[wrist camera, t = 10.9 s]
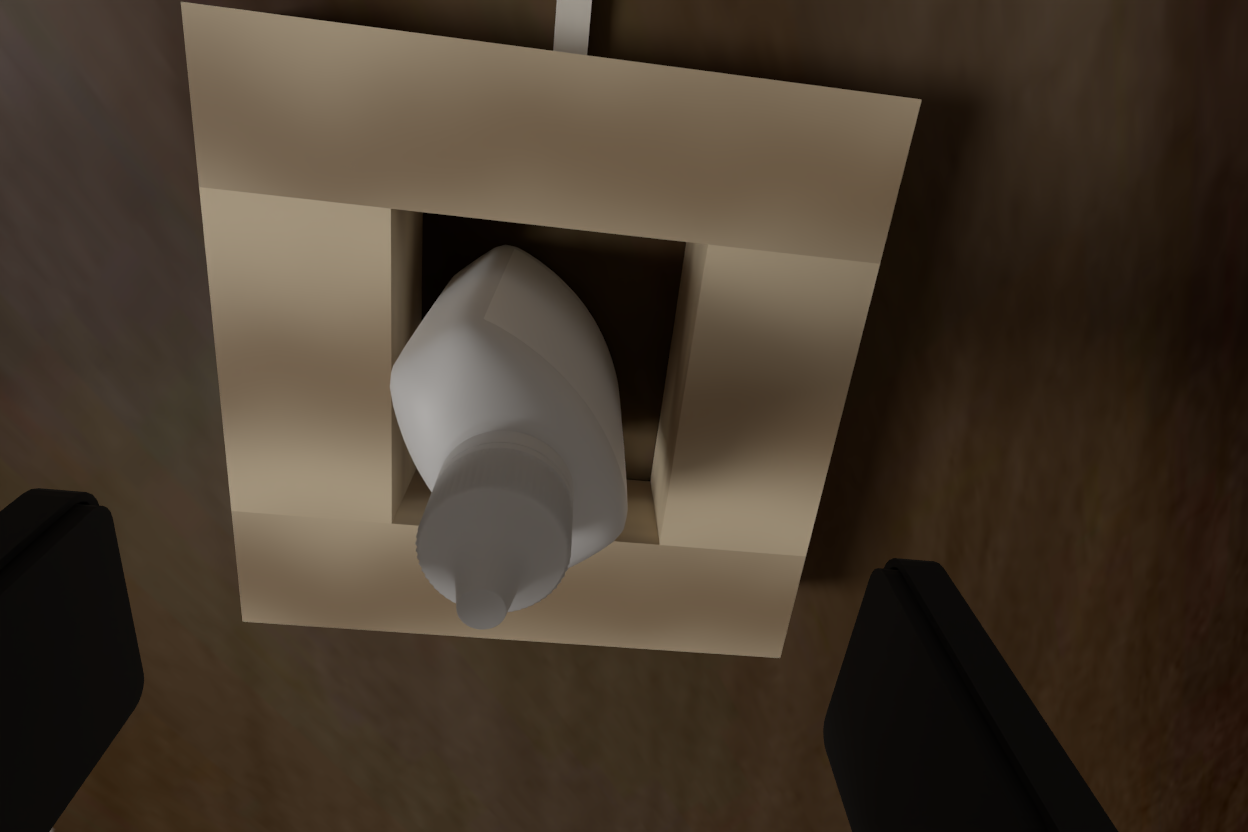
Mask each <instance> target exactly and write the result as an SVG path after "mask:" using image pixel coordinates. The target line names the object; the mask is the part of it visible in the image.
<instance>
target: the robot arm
mask: <svg viewBox="0 0 1248 832" xmlns="http://www.w3.org/2000/svg"><path fill="white" fill-rule="evenodd" d="M143 685H144V673H143V668H142V663H141V658H140V653H139V648H138V643H137V638H136V633H135V628H134V623H133V618H132V613H131V608H130V603H129V598H128V593H127V588H126V583H125V578H124V573H123V568H122V563H121V558H120V553H119V548H118V543H117V538H116V533H115V528H114V523H113V518H112V515H111V512H110V511H109V510H108V508H106V507H104V506H99V504H98V501H97V500H96V498H95V497H94V496H93V495H92V494H89V493H87V492H77V491H65V490H53V489H40V488H38V489H31V490H29V491H27V492H25V493H23V494H22V495H21V496H20V497H18V498H17V499H16V500H14V501H13V502H12V503H11V504H9V505H8V506H7V507H5V508H4V509H3V510H2V511H0V832H49V831H50V830H51V828H52V827H53V826H54V824H55V823H56V821H57V820H58V818H59V817H60V815H61V814H62V813H63V811H64V810H65V808H66V807H67V805H68V804H69V803H70V801H71V800H72V798H73V797H74V795H75V794H76V792H77V791H78V790H79V788H80V787H81V785H82V784H83V782H84V781H85V780H86V778H87V777H88V775H89V774H90V772H91V771H92V770H93V768H94V767H95V765H96V764H97V762H98V761H99V759H100V758H101V757H102V755H103V754H104V752H105V751H106V749H107V748H108V747H109V745H110V744H111V742H112V741H113V739H114V738H115V736H116V735H117V734H118V732H119V731H120V729H121V728H122V726H123V725H124V724H125V722H126V721H127V719H128V718H129V716H130V715H131V714H132V712H133V711H134V709H135V707H136V706H137V704H138V702H139V700H140V697H141V694H142V690H143ZM823 732H824V744H825V749H826V752H827V755H828V758H829V761H830V765H831V768H832V771H833V774H834V777H835V780H836V783H837V786H838V789H839V792H840V795H841V798H842V802H843V805H844V808H845V811H846V814H847V817H848V820H849V823H850V826H851V829H852V832H1118V831H1117V829H1116V828H1115V826H1114V825H1113V823H1112V822H1111V820H1110V819H1109V817H1108V816H1107V814H1106V812H1105V811H1104V809H1103V808H1102V806H1101V805H1100V803H1099V802H1098V800H1097V799H1096V797H1095V796H1094V794H1093V793H1092V791H1091V790H1090V788H1089V787H1088V785H1087V784H1086V782H1085V781H1084V779H1083V778H1082V776H1081V775H1080V773H1079V772H1078V770H1077V769H1076V767H1075V766H1074V764H1073V763H1072V761H1071V760H1070V758H1069V757H1068V755H1067V754H1066V752H1065V751H1064V749H1063V748H1062V746H1061V745H1060V743H1059V742H1058V740H1057V739H1056V737H1055V736H1054V734H1053V732H1052V731H1051V729H1050V728H1049V726H1048V725H1047V723H1046V722H1045V720H1044V719H1043V717H1042V716H1041V714H1040V713H1039V711H1038V710H1037V708H1036V707H1035V705H1034V704H1033V702H1032V701H1031V699H1030V698H1029V696H1028V695H1027V693H1026V692H1025V690H1024V689H1023V687H1022V686H1021V684H1020V683H1019V681H1018V680H1017V678H1016V677H1015V675H1014V674H1013V672H1012V671H1011V669H1010V668H1009V666H1008V665H1007V663H1006V662H1005V660H1004V659H1003V657H1002V655H1001V654H1000V652H999V651H998V649H997V648H996V646H995V645H994V643H993V642H992V640H991V639H990V637H989V636H988V634H987V633H986V631H985V630H984V628H983V627H982V625H981V624H980V622H979V621H978V619H977V618H976V616H975V615H974V613H973V612H972V610H971V609H970V607H969V606H968V604H967V603H966V601H965V600H964V598H963V597H962V595H961V594H960V592H959V591H958V589H957V588H956V586H955V585H954V583H953V582H952V580H951V578H950V577H949V575H948V574H947V572H946V571H945V569H944V568H943V567H942V566H941V565H940V564H939V563H937V562H934V561H922V560H909V559H897V558H893V559H891V560H889V561H888V562H887V563H886V565H885V567H884V569H880V568H878V569H875V570H874V571H873V572H872V574H871V576H870V579H869V582H868V585H867V588H866V591H865V594H864V598H863V601H862V604H861V607H860V610H859V613H858V616H857V619H856V623H855V626H854V629H853V632H852V635H851V638H850V641H849V645H848V648H847V651H846V654H845V657H844V660H843V663H842V667H841V670H840V673H839V676H838V679H837V682H836V685H835V688H834V692H833V695H832V698H831V701H830V704H829V707H828V710H827V714H826V717H825V721H824V729H823Z"/></svg>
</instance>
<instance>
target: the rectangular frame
mask: <svg viewBox="0 0 1248 832" xmlns="http://www.w3.org/2000/svg"><path fill="white" fill-rule="evenodd" d="M181 9H182V19H183V29H184V39H185V49H186V59H187V69H188V79H189V89H190V99H191V109H192V119H193V129H194V139H195V149H196V159H197V169H198V179H199V189H200V199H201V209H202V219H203V229H204V239H205V249H206V259H207V269H208V279H209V289H210V299H211V309H212V319H213V330H214V340H215V350H216V360H217V370H218V380H219V390H220V400H221V410H222V420H223V430H224V440H225V450H226V460H227V470H228V480H229V490H230V500H231V510H232V520H233V530H234V540H235V550H236V560H237V570H238V580H239V590H240V600H241V610H242V620H243V622H256V623H271V624H286V625H300V626H315V627H330V628H345V629H359V630H374V631H389V632H404V633H418V634H433V635H448V636H463V637H477V638H492V639H507V640H522V641H536V642H551V643H566V644H581V645H595V646H610V647H625V648H640V649H654V650H669V651H684V652H699V653H713V654H728V655H743V656H758V657H772V658H780V656H781V652H782V648H783V644H784V641H785V637H786V633H787V629H788V625H789V621H790V617H791V613H792V609H793V605H794V601H795V597H796V593H797V589H798V585H799V581H800V577H801V574H802V570H803V566H804V562H805V558H806V554H807V550H808V546H809V542H810V538H811V534H812V530H813V526H814V522H815V518H816V514H817V510H818V507H819V503H820V499H821V495H822V491H823V487H824V483H825V479H826V475H827V471H828V467H829V463H830V459H831V455H832V451H833V447H834V443H835V440H836V436H837V432H838V428H839V424H840V420H841V416H842V412H843V408H844V404H845V400H846V396H847V392H848V388H849V384H850V380H851V376H852V373H853V369H854V365H855V361H856V357H857V353H858V349H859V345H860V341H861V337H862V333H863V329H864V325H865V321H866V317H867V313H868V309H869V306H870V302H871V298H872V294H873V290H874V286H875V282H876V278H877V274H878V270H879V266H880V262H881V258H882V254H883V250H884V246H885V242H886V239H887V235H888V231H889V227H890V223H891V219H892V215H893V211H894V207H895V203H896V199H897V195H898V191H899V187H900V183H901V179H902V175H903V172H904V168H905V164H906V160H907V156H908V152H909V148H910V144H911V140H912V136H913V132H914V128H915V124H916V120H917V116H918V112H919V108H920V105H921V101H922V99H914V98H907V97H899V96H891V95H884V94H876V93H869V92H861V91H853V90H846V89H838V88H831V87H823V86H816V85H808V84H800V83H793V82H785V81H778V80H770V79H762V78H755V77H747V76H740V75H732V74H725V73H717V72H709V71H702V70H694V69H687V68H679V67H671V66H664V65H656V64H649V63H641V62H634V61H626V60H618V59H611V58H603V57H596V56H588V55H580V54H573V53H565V52H558V51H550V50H543V49H535V48H527V47H520V46H512V45H505V44H497V43H489V42H482V41H474V40H467V39H459V38H451V37H444V36H436V35H429V34H421V33H414V32H406V31H398V30H391V29H383V28H376V27H368V26H360V25H353V24H345V23H338V22H330V21H323V20H315V19H307V18H300V17H292V16H285V15H277V14H269V13H262V12H254V11H247V10H239V9H232V8H224V7H216V6H209V5H201V4H194V3H186V2H181ZM423 212H425V213H434V214H443V215H451V216H460V217H469V218H478V219H487V220H496V221H505V222H514V223H522V224H531V225H540V226H549V227H558V228H567V229H576V230H584V231H593V232H602V233H611V234H620V235H629V236H638V237H647V238H655V239H664V240H673V241H682V242H686V247H685V254H684V261H683V267H682V274H681V281H680V287H679V294H678V301H677V307H676V314H675V320H674V327H673V334H672V340H671V347H670V354H669V360H668V367H667V374H666V380H665V387H664V394H663V400H662V407H661V414H660V420H659V427H658V434H657V440H656V447H655V454H654V460H653V467H652V474H651V480H650V481H640V480H629V479H626V481H627V504H628V511H627V518H626V522H625V526H624V529H623V531H622V533H621V534H620V535H619V536H618V537H617V538H616V539H615V540H614V542H612V543H611V544H609V545H608V546H607V547H605V548H604V549H602V550H601V551H599V552H598V553H596V554H594V555H593V556H591V557H589V558H587V559H586V560H584V561H582V562H580V563H578V564H576V565H574V566H572V567H570V568H568V570H567V571H566V572H565V577H563V578H562V579H561V583H559V584H558V585H557V588H556V589H554V590H552V593H551V594H549V595H547V597H546V598H544V599H541V601H540V602H537V603H534V605H532V606H528V607H527V608H524V609H521V610H517V611H513V612H507V614H506V616H505V618H504V620H503V621H502V622H501V623H500V624H499V625H497V626H496V627H493V628H491V629H485V630H481V629H474V628H471V627H469V626H467V625H466V624H464V623H463V622H462V621H461V620H460V618H459V617H458V615H457V611H456V603H454V602H452V601H451V600H449V599H447V598H445V596H444V595H442V594H440V593H439V591H438V590H436V589H435V588H434V586H433V585H432V584H430V583H429V580H428V579H427V578H426V577H425V574H424V573H423V572H422V571H421V570H422V567H421V566H420V565H419V560H418V558H417V555H418V554H417V552H416V548H417V546H416V544H415V543H416V540H417V538H416V535H417V532H418V530H417V529H418V527H419V524H420V521H421V519H422V516H423V513H424V511H425V508H426V506H427V503H428V500H429V498H430V495H431V493H432V492H431V491H430V489H429V488H428V486H427V485H426V483H425V481H424V480H423V478H422V476H421V475H420V473H419V471H418V470H417V468H416V466H415V464H414V462H413V460H412V458H411V455H410V453H409V451H408V449H407V446H406V444H405V442H404V439H403V436H402V433H401V430H400V427H399V425H398V422H397V418H396V415H395V411H394V407H393V403H392V397H391V391H390V379H391V371H392V368H393V365H394V364H395V362H396V360H397V359H398V357H399V355H400V354H401V352H402V350H403V349H404V347H405V345H406V344H407V343H408V341H409V340H410V338H411V337H412V335H413V334H414V332H415V331H416V329H417V328H418V326H419V325H420V323H421V314H422V239H423Z"/></svg>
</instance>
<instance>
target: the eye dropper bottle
mask: <svg viewBox="0 0 1248 832" xmlns="http://www.w3.org/2000/svg"><path fill="white" fill-rule="evenodd" d="M390 391H391V397H392V403H393V407H394V411H395V415H396V418H397V422H398V425H399V427H400V430H401V433H402V436H403V439H404V442H405V444H406V446H407V449H408V451H409V453H410V455H411V458H412V460H413V462H414V464H415V466H416V468H417V470H418V471H419V473H420V475H421V476H422V478H423V480H424V481H425V483H426V485H427V486H428V488H429V489H430V491H431V492H432V493H431V495H430V498H429V500H428V503H427V506H426V508H425V511H424V513H423V516H422V519H421V521H420V524H419V527H418V529H417V530H418V532H417V535H416V538H417V540H416V543H415V544H416V546H417V548H416V552H417V554H418V555H417V558H418V560H419V565H420V566H421V567H422V570H421V571H422V572H423V573H424V574H425V577H426V578H427V579H428V580H429V583H430V584H432V585H433V586H434V588H435V589H436V590H438V591H439V593H440V594H442V595H444V596H445V598H447V599H449V600H451V601H452V602H454V603H456V611H457V615H458V617H459V618H460V620H461V621H462V622H463V623H464V624H466V625H467V626H469V627H471V628H474V629H481V630H485V629H491V628H493V627H496V626H497V625H499V624H500V623H501V622H502V621H503V620H504V618H505V616H506V614H507V612H513V611H517V610H521V609H524V608H527V607H528V606H532V605H534V603H537V602H540V601H541V599H544V598H546V597H547V595H549V594H551V593H552V590H554V589H556V588H557V585H558V584H559V583H561V579H562V578H563V577H565V572H566V571H567V570H568V568H570V567H572V566H574V565H576V564H578V563H580V562H582V561H584V560H586V559H587V558H589V557H591V556H593V555H594V554H596V553H598V552H599V551H601V550H602V549H604V548H605V547H607V546H608V545H609V544H611V543H612V542H614V540H615V539H616V538H617V537H618V536H619V535H620V534H621V533H622V531H623V529H624V526H625V522H626V518H627V511H628V504H627V481H626V468H625V455H624V442H623V430H622V418H621V407H620V396H619V387H618V381H617V376H616V372H615V368H614V364H613V361H612V358H611V355H610V352H609V349H608V347H607V344H606V342H605V340H604V337H603V335H602V333H601V331H600V329H599V327H598V326H597V324H596V322H595V320H594V319H593V317H592V315H591V314H590V312H589V311H588V309H587V308H586V307H585V305H584V304H583V303H582V301H581V300H580V299H579V297H578V296H577V295H576V294H575V293H574V292H573V290H572V289H571V288H570V287H569V286H568V285H567V284H566V283H565V282H564V281H563V280H562V279H561V278H560V277H559V276H558V275H556V274H555V273H554V272H553V271H552V270H551V269H549V268H548V267H547V266H546V265H544V264H543V263H542V262H540V261H539V260H538V259H536V258H535V257H533V256H532V255H530V254H529V253H527V252H525V251H523V250H521V249H520V248H518V247H514V246H510V245H502V246H498V247H495V248H493V249H492V250H490V251H488V252H487V253H485V254H484V255H482V256H481V257H479V258H478V259H476V260H475V261H473V262H472V263H470V264H469V265H468V266H466V267H465V268H463V269H462V270H461V271H459V272H458V273H457V274H455V275H454V276H453V278H452V279H451V280H450V282H449V283H448V284H447V286H446V287H445V288H444V290H443V291H442V293H441V294H440V296H439V297H438V298H437V300H436V301H435V303H434V304H433V306H432V307H431V309H430V310H429V311H428V313H427V314H426V316H425V317H424V319H423V320H422V322H421V323H420V325H419V326H418V328H417V329H416V331H415V332H414V334H413V335H412V337H411V338H410V340H409V341H408V343H407V344H406V345H405V347H404V349H403V350H402V352H401V354H400V355H399V357H398V359H397V360H396V362H395V364H394V365H393V368H392V371H391V379H390Z"/></svg>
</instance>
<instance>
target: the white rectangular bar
mask: <svg viewBox="0 0 1248 832" xmlns="http://www.w3.org/2000/svg"><path fill="white" fill-rule="evenodd" d="M591 7H592V0H557V6H556V20H555V33H554V47H553V51H558V52H565V53H573V54H580V55H587V51H588V40H589V29H590V18H591Z"/></svg>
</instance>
